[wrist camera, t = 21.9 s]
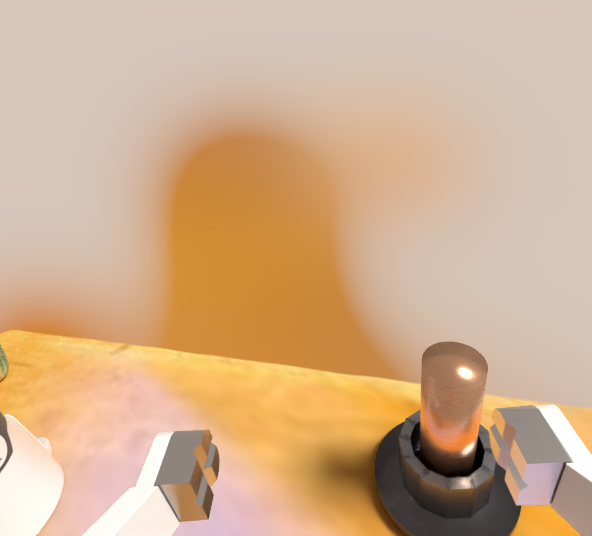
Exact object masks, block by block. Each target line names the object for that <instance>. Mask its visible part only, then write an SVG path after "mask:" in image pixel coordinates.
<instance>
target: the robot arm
mask: <svg viewBox="0 0 592 536" xmlns="http://www.w3.org/2000/svg"><path fill="white" fill-rule="evenodd" d="M492 418H493V421H494V423H495V424H494V425H493V426H492V427H491V428H490V434H489V438H490V445H491V448H492V452H493V455H494V457H495V459H496V462H497V464H499V465H500V466H501V467H502V468H504V469H505V470H506V475H505V482H506V484H507V486H508V488H509V491H510V493H511V495H512V497H513V499H514V502H515V504H516V505H551V507H552V508H553V509H554V510H555V511H556V512H557V513H558V514H559V515H561V516H562V517H563V518H564V519H565V520H566V521H567V522H568V523H569V524H570V525H571V526H572V527H573V528H574V529H575V530H577V531H578V532H579V533H580V534H581V535H582V536H592V455H591V454H590V452H589V451H588V450H587V448H586V447H585V445H584V444H583V442H582V441H581V439H580V438H579V437H578V435H577V434H576V432H575V431H574V429H573V428H572V426H571V425H570V424H569V422H568V421H567V419H566V418H565V416H564V415H563V414H562V412H561V411H560V409H559V408H558V407H557V406H555V405H551V404H550V405H539V406H520V407H509V408H497V409H495V410H494V411H493V415H492ZM211 440H212V435H211V433H210V431H209V430H194V431H172V432H159V433H158V434H157V435H156V436H155V438H154V440H153V442H152V445H151V447H150V450H149V453H148V455H147V458H146V460H145V463H144V465H143V468H142V470H141V473H140V475H139V478H138V480H137V483H136V485H135V487H131V488H129V489H128V490H127V491H126V492H125V493H124V494H123V495H122V496H121V497H120V498H119V499H118V500H117V501H116V502H115V503H114V504H113V505H112V506H111V507H110V508H109V509H108V510H107V511H106V512H105V513H104V514H103V515H102V516H101V517H100V518H99V519H98V520H97V521H96V522H95V523H94V524H93V525H92V526H91V527H90V528H89V529H88V530H87V531H86V532H85V533H84V534H83V535H82V536H171V535H172V534H173V533H174V531H175V530H176V528H177V527H178V526H179V524H180V523H179V522H182V521H195V520H208V519H209V514H210V510H211V505H212V500H213V496H214V495H213V492H212V490H211V488H210V487H211V486H212V485H213V484H214V482H215V481H216V480H217V477H218V472H219V453H218V450H217V447H216V446H215V445H214V444H212V443H211ZM63 481H64V476H63V470H62V468H61V466H60V464H59V463H58V462H57V461H56V460H55V459H54V458H53V456H52V445H51V442H50V441H49V440H48V439H47V438H45V437H41V438H35V437H34V436H33V435H32V434H31V433H30V432H29V431H28V430H27V429H26V428H25V427H24V426H23V425H22V424H21V423H20V422H18V421H17V420H16V419H15V418H14V417H13V416H11V415H8V414H7V415H3V414H2V413H1V412H0V536H36V535H37V534H38V533H39V532H40V530H41V529H42V528H43V526H44V525H45V524H46V522H47V521H48V519H49V518H50V516H51V514H52V513H53V511H54V509H55V507H56V505H57V503H58V501H59V498H60V495H61V492H62V488H63Z"/></svg>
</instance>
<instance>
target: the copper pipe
mask: <svg viewBox="0 0 592 536" xmlns="http://www.w3.org/2000/svg"><path fill="white" fill-rule="evenodd" d="M487 371H488V365H487V362H486V360H485V358H484V357H483V356H482V355H481V354H480V353H479V352H478V351H477V350H475V349H474V348H472V347H470V346H468V345H465V344H462V343H457V342H441V343H437V344H434V345H432V346H430V347H429V348H427V349H426V350H425V352H424V353H423V356H422V377H421V415H420V453H419V461H420V462H421V463H422V464H423V465H424V466H425V467H426V468H427V470H430V471H432V472H434V473H437V474H439V475H441V476H444V477H446V478H460V477H469V476H470V475H471V474H472V472H473V465H474V458H475V452H476V445H477V438H478V432H479V425H480V418H481V411H482V405H483V398H484V391H485V384H486V378H487Z"/></svg>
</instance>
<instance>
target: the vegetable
mask: <svg viewBox="0 0 592 536" xmlns="http://www.w3.org/2000/svg"><path fill="white" fill-rule="evenodd" d="M8 368H9V365H8V360H7V357H6V355H5V353H4V351H3V349H2V347H1V345H0V381H1V380H3V379H4V378H5V376H6V375H7V373H8Z"/></svg>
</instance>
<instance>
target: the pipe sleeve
mask: <svg viewBox="0 0 592 536" xmlns="http://www.w3.org/2000/svg"><path fill="white" fill-rule="evenodd" d="M420 415H421V410H419V411H417V412H416V413H414V414H413V415H411V416H410V417H408V418H406V420H405V422H403V423H401V424H399V425H397V426H396V427H395V428H393V429H392V430H391V431H390V432H389V433H388V434H387V435H386V437H385V438H384V439H383V441H382V443H381V445H380V446H379V449H378V452H377V456H376V461H375V475H376V486H377V490H378V495H379V497H380V500H381V503H382V505H383V507H384V509H385V511H386V513H387V514H388V516H389V518H390V519H391V521H392V522H393V523H394V524H395V525H396V527H397V528H398V529H399V530H400V531H401V532H402V533H403V534H404V535H405V536H512V534H513V532H514V530H515V528H516V525H517V522H518V519H519V515H520V510H521V505H516V504H515V502H514V499H513V497H512V495H511V493H510V491H509V488H508V486H507V484H506V482H505V475H506V470H505V469H504V468H502V467H501V466H500V465H499V464H497V462H496V459H495V457H494V455H493V452H492V448H491V445H490V438H489V433H488V430H486V429H485V428H484V427H483V426H482V425H479V432H478V438H477V445H476V452H475V458H474V465H473V472H472V474H471V475H470V476H469V477H460V478H446V477H444V476H441V475H439V474H437V473H434V472H432V471H430V470H427V468H426V467H425V466H424V465H423V464H422V463H421V462H420V461H419V453H420Z"/></svg>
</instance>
